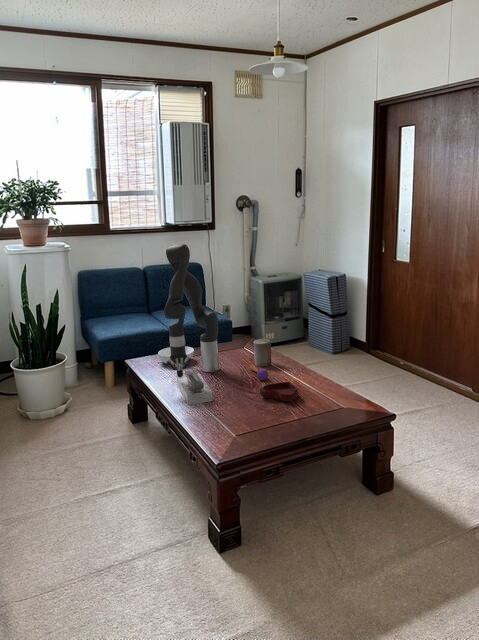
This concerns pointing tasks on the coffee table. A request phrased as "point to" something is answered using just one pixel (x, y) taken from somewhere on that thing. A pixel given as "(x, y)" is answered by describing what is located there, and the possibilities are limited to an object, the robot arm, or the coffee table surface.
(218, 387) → the coffee table surface
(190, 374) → the bar
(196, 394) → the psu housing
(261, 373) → the kendama
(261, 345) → the pillar candle
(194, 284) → the robot arm
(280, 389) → the ashtray
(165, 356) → the serving bowl
